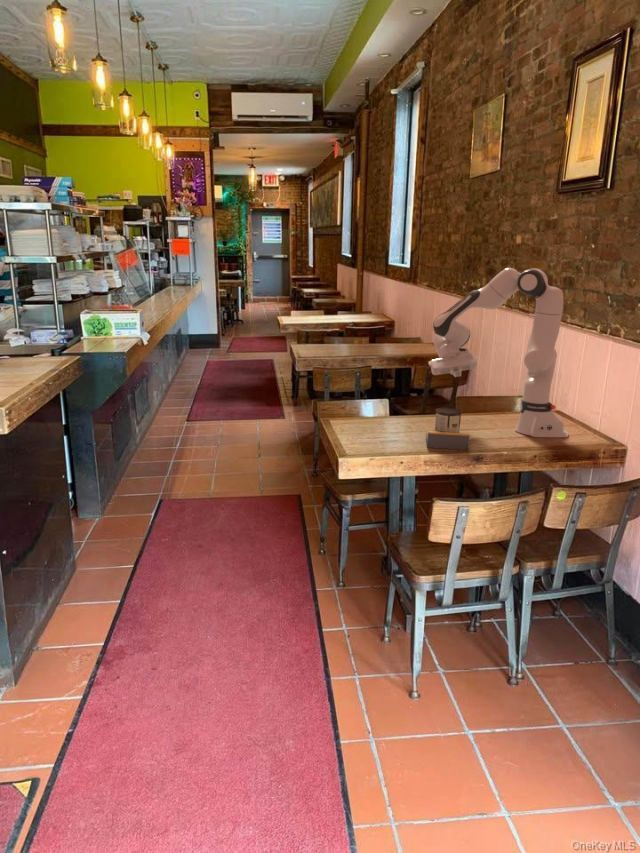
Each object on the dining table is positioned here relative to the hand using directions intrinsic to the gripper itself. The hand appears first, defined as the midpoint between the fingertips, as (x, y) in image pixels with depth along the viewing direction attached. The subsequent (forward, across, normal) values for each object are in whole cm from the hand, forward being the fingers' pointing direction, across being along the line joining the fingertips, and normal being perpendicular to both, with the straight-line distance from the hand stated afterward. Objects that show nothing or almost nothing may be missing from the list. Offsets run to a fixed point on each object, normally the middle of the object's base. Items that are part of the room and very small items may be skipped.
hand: (458, 375), depth 276 cm
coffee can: (+30, -13, +10) cm, 34 cm away
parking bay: (+31, -14, +9) cm, 35 cm away
